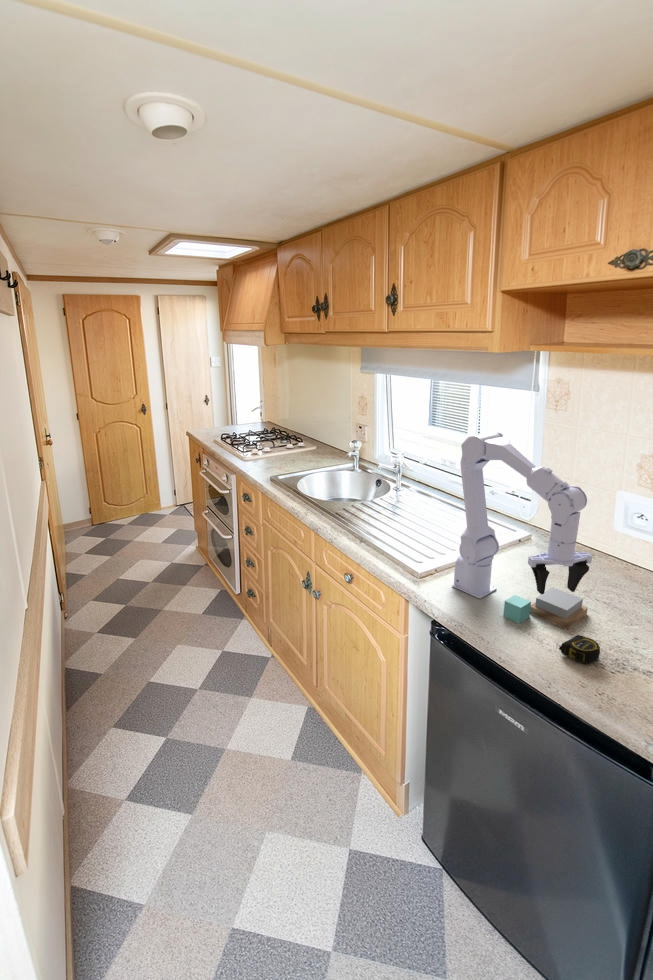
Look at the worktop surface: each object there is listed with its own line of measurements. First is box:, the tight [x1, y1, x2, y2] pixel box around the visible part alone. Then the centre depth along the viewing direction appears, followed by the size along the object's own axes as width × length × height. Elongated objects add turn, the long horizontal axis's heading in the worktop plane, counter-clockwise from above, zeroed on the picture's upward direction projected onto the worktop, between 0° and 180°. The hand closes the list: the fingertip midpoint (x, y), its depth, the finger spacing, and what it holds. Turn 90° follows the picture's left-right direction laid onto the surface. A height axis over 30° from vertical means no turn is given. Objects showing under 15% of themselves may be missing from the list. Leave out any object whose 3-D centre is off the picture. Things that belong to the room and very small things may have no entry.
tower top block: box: [535, 586, 584, 619], centre depth 131 cm, size 8×8×2 cm
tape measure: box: [558, 634, 601, 664], centre depth 115 cm, size 7×7×4 cm
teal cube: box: [503, 594, 532, 624], centre depth 131 cm, size 4×4×4 cm
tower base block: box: [530, 601, 588, 630], centre depth 132 cm, size 10×10×2 cm
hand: (555, 591), depth 124 cm, fingers open, 7 cm apart
